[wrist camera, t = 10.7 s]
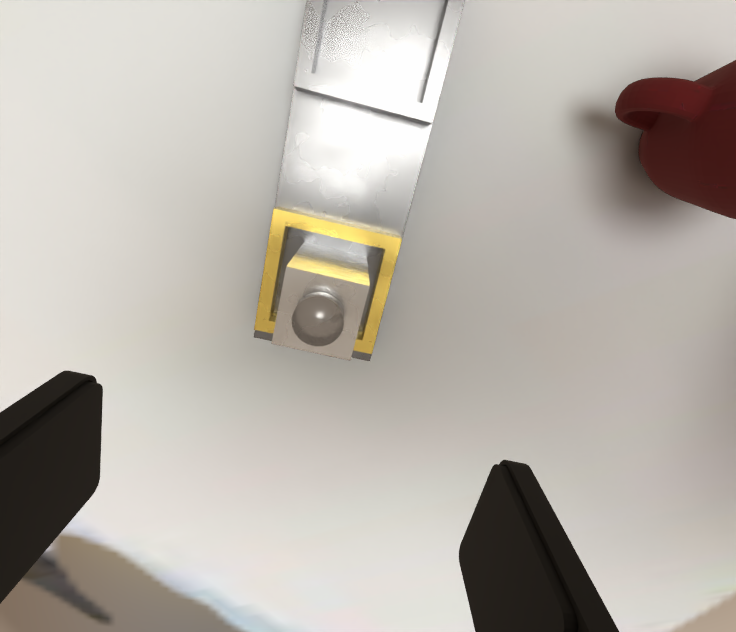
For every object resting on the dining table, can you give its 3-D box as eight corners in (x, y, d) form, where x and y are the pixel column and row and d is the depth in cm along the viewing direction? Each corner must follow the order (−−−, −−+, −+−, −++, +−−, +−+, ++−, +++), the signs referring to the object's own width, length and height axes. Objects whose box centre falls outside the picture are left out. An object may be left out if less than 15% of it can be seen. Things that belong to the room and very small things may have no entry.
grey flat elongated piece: (470, -40, 23) (488, -74, 20) (368, 349, 31) (370, 371, 27) (328, -84, 22) (322, -128, 19) (260, 326, 30) (248, 346, 27)
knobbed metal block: (366, 256, 26) (370, 292, 19) (352, 314, 28) (350, 369, 20) (304, 241, 26) (282, 271, 18) (292, 301, 27) (267, 351, 20)
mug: (551, 188, 27) (653, 199, 18) (595, 48, 25) (742, -27, 15) (699, 219, 28) (871, 244, 19) (757, 86, 26) (992, 38, 16)
